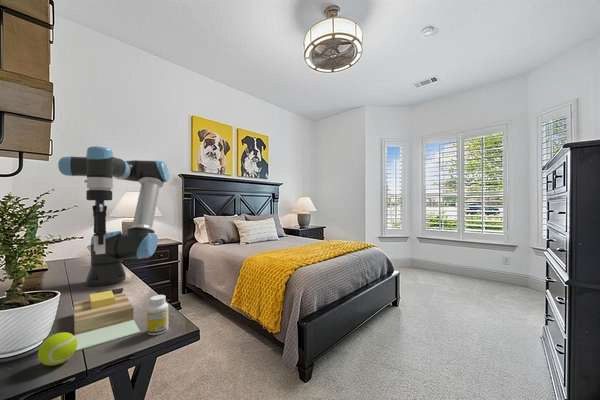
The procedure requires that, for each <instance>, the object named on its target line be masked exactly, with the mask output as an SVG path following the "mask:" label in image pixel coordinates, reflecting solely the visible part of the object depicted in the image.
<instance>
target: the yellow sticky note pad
mask: <svg viewBox="0 0 600 400" xmlns="http://www.w3.org/2000/svg"><path fill="white" fill-rule="evenodd" d="M109 290H110V291H105V290H104V291H105V292H100V293H96V292H95V293H90V294H89V300H90V305H91V309H94V308H98V307H103V306H108V305H112V304H115V296H114V294H113V292H112V289H109Z"/></svg>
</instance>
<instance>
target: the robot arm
mask: <svg viewBox="0 0 600 400" xmlns="http://www.w3.org/2000/svg"><path fill="white" fill-rule="evenodd" d="M57 165H58V167H57V168H58V170H59V172H60V173H61V174H62V175H64V176H70V177H86V179H85V180H84V181H83V182H84V183H85V184H86V183H87V184H86V188H87V190H86V200H87V201H94V205H92V217H93V235H92V236H91V239H90V268H89V271H88V274H87V276H86V278H85V285H86V286H87V287H103V286H110V285H115V284H118V283H122V282H123V281H125V280H126V277H127V274H126V272H125V269H124V267H123V263H122V260H123V259H124V260H125V259H139V260H140V259H145V258H146V259H147V258H151V257H152V256H153V255H154V254H155V252H156V249H157V248H158V247H157V246H158V239H159V238H158V235H157V234H156V233H155V230H154V229H153V224H154V219H155V216H156V215H155V214H156V208H157V204H158V196H159V192H160V189H161V188H163V187H164V183H168V182H169V178H170V177H169V169H168V166H167V164H166V163H165V161H162V160H137V159H135V160H133V159H132V160H123V159H122V158H118V157H114V154H113V150H112V149H111V148H109V147H105V146H88V147H87V150H86V156H73V155H72V156H63V157H60V159H59V160H58V163H57ZM113 178H114V179H116V180H123V181H129V182H135V183H136V182H138V183H139V185H140V189H139V193H138V199H137V203H136V207H135V211H134V212H135V213H134V215H133V220H132V225H131V226H130V227H128V228H127V229H126V233H123V232H122V231H121V230H119V231H118V230H116V231H110V232H107V225H106V224H107V219H106V218H107V209H108V205H105V201H112V200H113V191H112V190H113V187H114V186H113V185H114V184H113V183H114V181H113V180H114V179H113Z"/></svg>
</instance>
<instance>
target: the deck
mask: <svg viewBox="0 0 600 400" xmlns="http://www.w3.org/2000/svg"><path fill="white" fill-rule="evenodd" d="M114 296H115V304H112V305H108V306H103V307H98V308H94V309H91V305H90V299H85V300H81V301H76V302H73V326H74V327H73V328H74V330H73V331H74V336H75V335H77V334H81V333H84V332H88V331H92V330H96V329H100V328H104V327H108V326H111V325H115V324H119V323H123V322H127V321H131V320H134V306H133V305H132V302H131V301H130V300H129V298H128V296H127V295H126V293H125V292H122V293H121V294H116V295H114Z"/></svg>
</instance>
